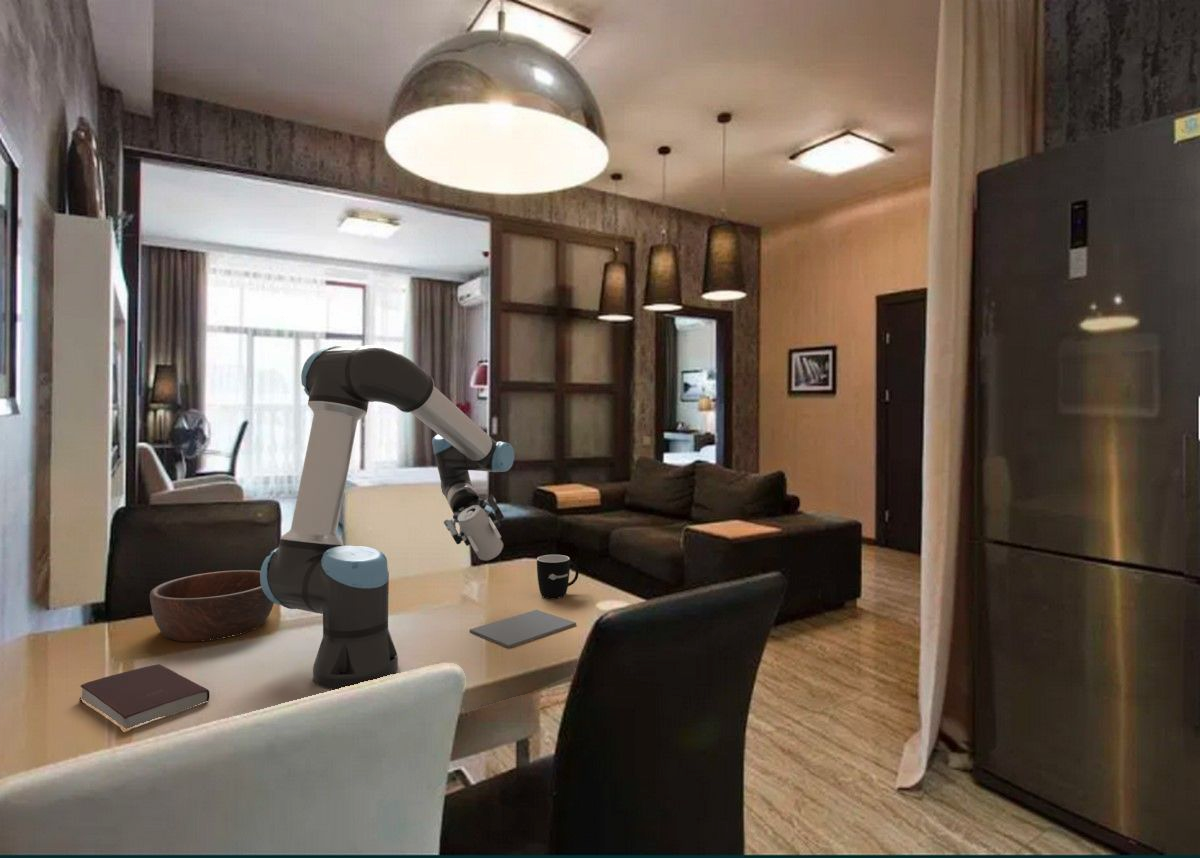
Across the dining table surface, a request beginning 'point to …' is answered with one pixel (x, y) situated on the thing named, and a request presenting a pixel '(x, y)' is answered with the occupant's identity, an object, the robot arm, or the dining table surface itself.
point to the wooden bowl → (210, 605)
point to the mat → (522, 628)
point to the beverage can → (480, 532)
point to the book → (143, 694)
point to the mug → (554, 575)
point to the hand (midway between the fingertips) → (485, 539)
